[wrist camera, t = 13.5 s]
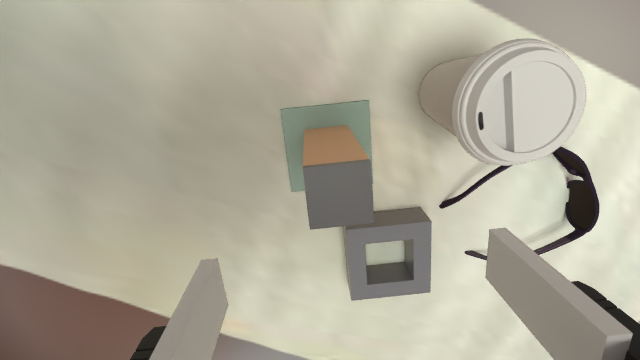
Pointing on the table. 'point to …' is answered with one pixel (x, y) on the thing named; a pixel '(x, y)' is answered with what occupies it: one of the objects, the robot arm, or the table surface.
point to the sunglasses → (578, 209)
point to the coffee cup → (507, 101)
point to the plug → (336, 178)
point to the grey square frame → (391, 276)
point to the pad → (322, 117)
